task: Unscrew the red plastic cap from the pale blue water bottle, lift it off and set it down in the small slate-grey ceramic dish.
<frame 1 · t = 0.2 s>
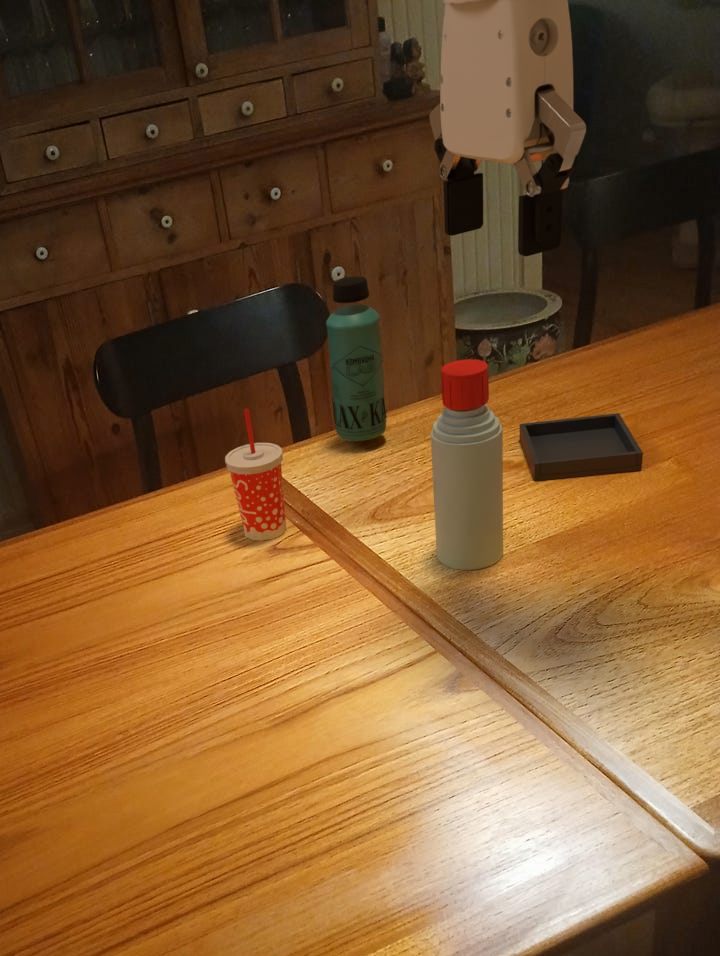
hand: (499, 241, 74), 31 cm above the table, tool pointing down, fingers open, 9 cm apart
water bottle: (469, 553, 97), on the table
beverage cup: (265, 531, 108), on the table
dish: (577, 454, 111), on the table
beverage bottle: (363, 443, 123), on the table
cap: (464, 370, 87), point 19 cm above the table, screwed on, not yet turned
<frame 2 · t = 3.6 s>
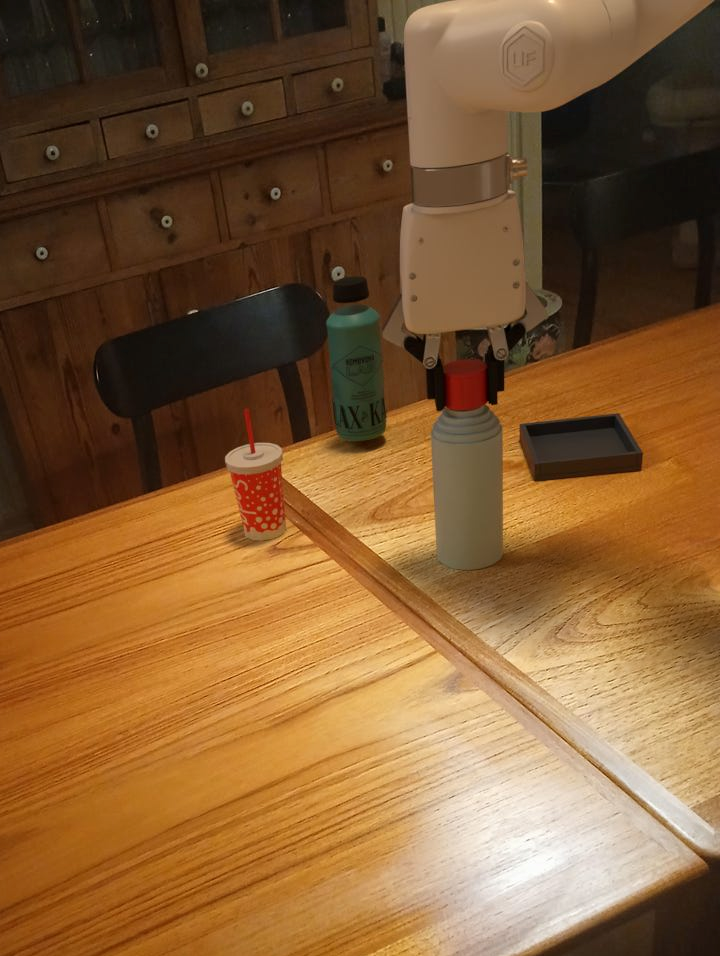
hand: (465, 400, 88), 16 cm above the table, tool pointing down, fingers closed on cap, 4 cm apart
cap: (464, 370, 87), point 19 cm above the table, screwed on, not yet turned, touching gripper
everything else where it was.
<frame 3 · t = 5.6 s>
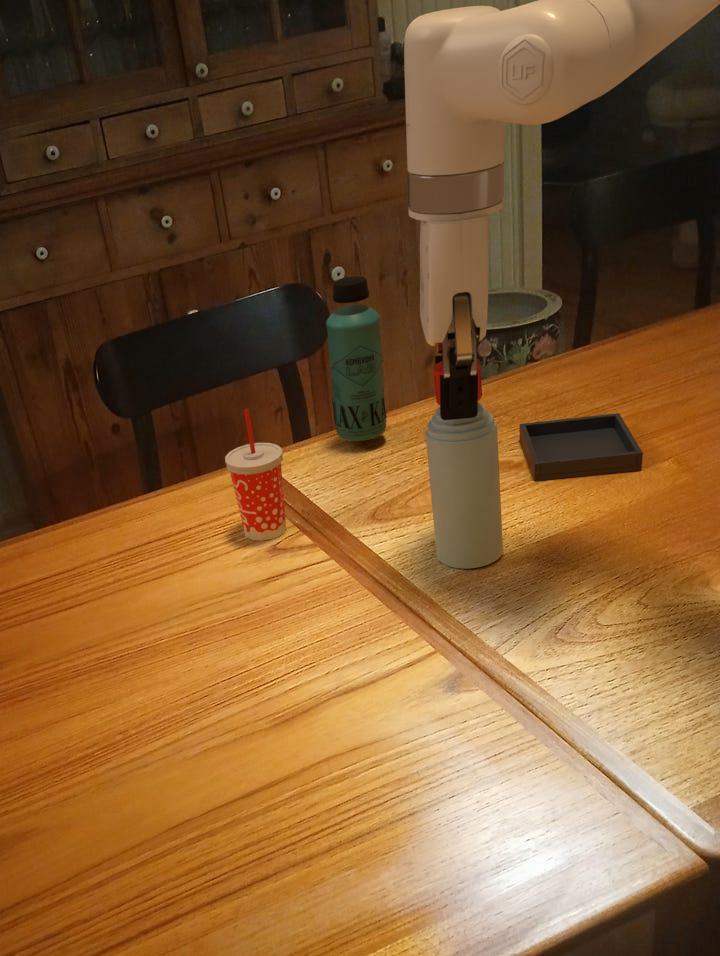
hand: (455, 405, 89), 15 cm above the table, tool pointing down, fingers closed on cap, 4 cm apart
cap: (456, 367, 87), point 19 cm above the table, turned 90° so far, risen 0.1 cm, still on its thread, touching gripper
everything else where it was.
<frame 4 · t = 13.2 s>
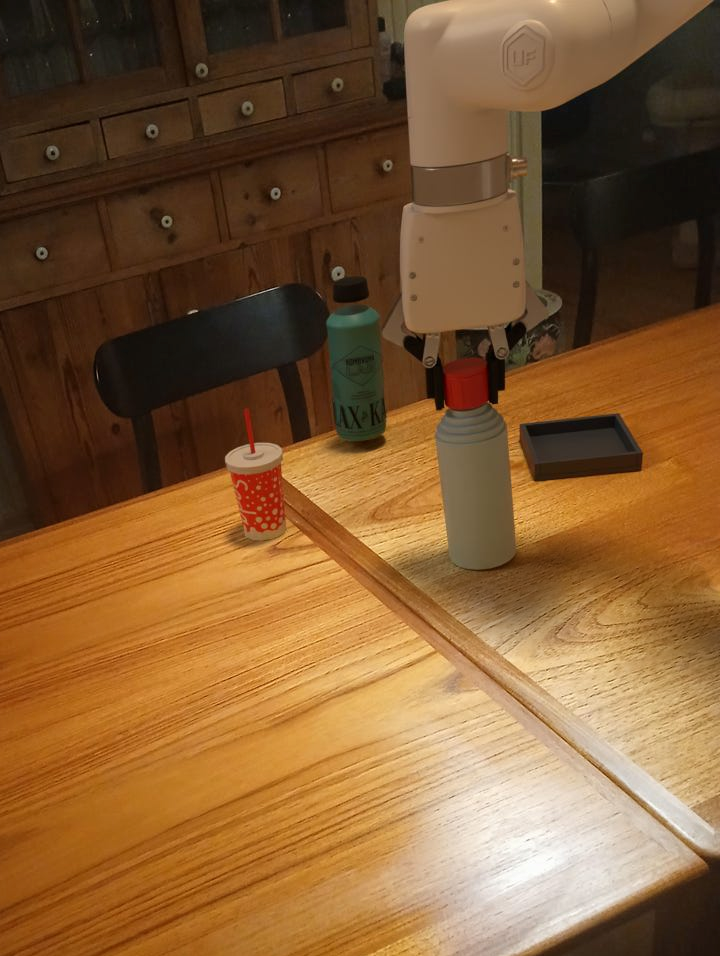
hand: (465, 399, 88), 16 cm above the table, tool pointing down, fingers closed on cap, 4 cm apart
water bottle: (482, 552, 96), on the table
cap: (464, 369, 86), point 19 cm above the table, turned 90° so far, risen 0.1 cm, still on its thread, touching gripper
everything else where it was.
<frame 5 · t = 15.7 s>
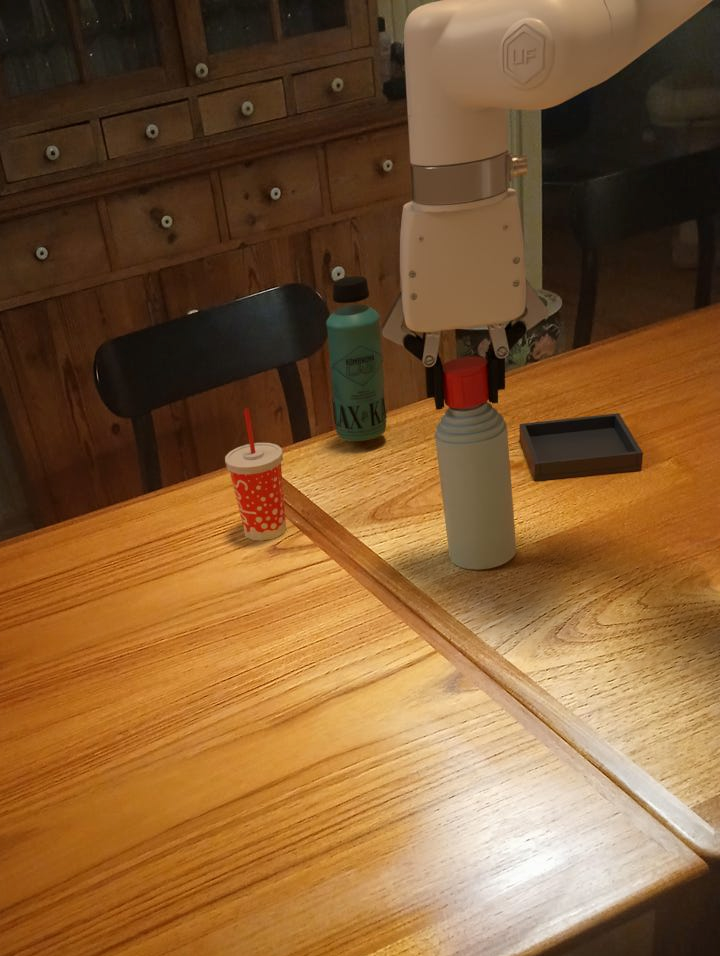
hand: (465, 398, 88), 16 cm above the table, tool pointing down, fingers closed on cap, 4 cm apart
cap: (464, 368, 86), point 19 cm above the table, turned 181° so far, risen 0.2 cm, still on its thread, touching gripper
everything else where it was.
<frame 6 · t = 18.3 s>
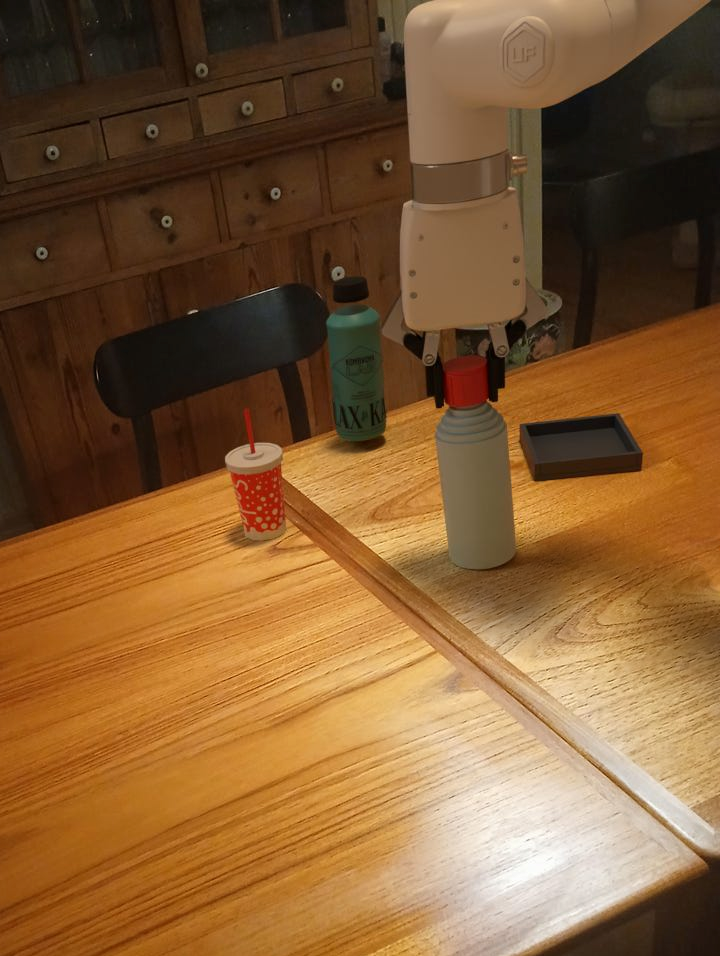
hand: (465, 397, 88), 16 cm above the table, tool pointing down, fingers closed on cap, 4 cm apart
cap: (464, 367, 86), point 19 cm above the table, turned 272° so far, risen 0.3 cm, still on its thread, touching gripper
everything else where it was.
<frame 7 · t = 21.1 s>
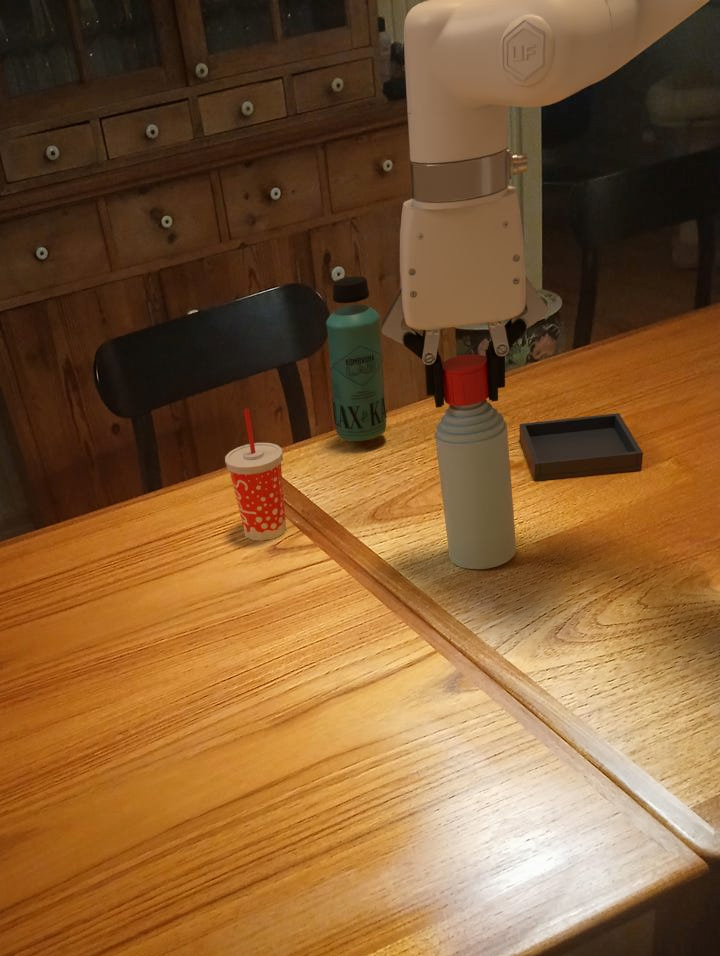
hand: (465, 396, 88), 16 cm above the table, tool pointing down, fingers closed on cap, 4 cm apart
cap: (464, 365, 86), point 19 cm above the table, turned 363° so far, risen 0.4 cm, still on its thread, touching gripper
everything else where it was.
when the fingers open (3 cm above the table, at t = 32.1 s): cap drops 2 cm, resting on dish.
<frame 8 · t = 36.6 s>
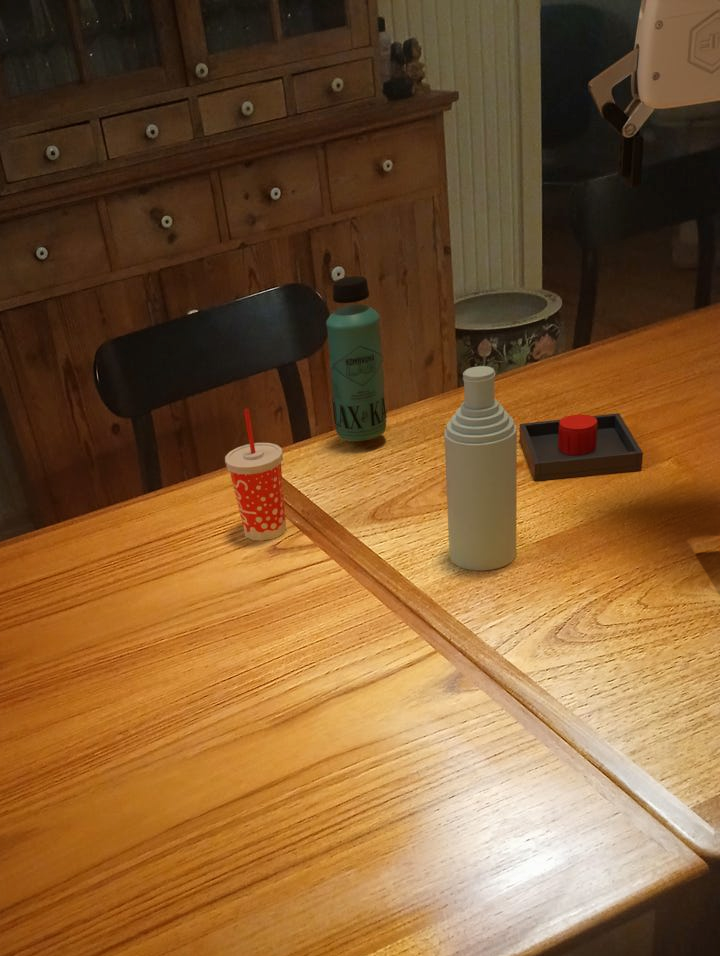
hand: (690, 176, 84), 30 cm above the table, tool pointing down, fingers open, 9 cm apart
cap: (578, 423, 110), point 3 cm above the table, off its thread, touching dish
at the end: cap came off its thread; cap inside the target area on the dish (0.5 cm from its centre), point 3.5 cm above the dish's base; the gripper is holding nothing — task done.
